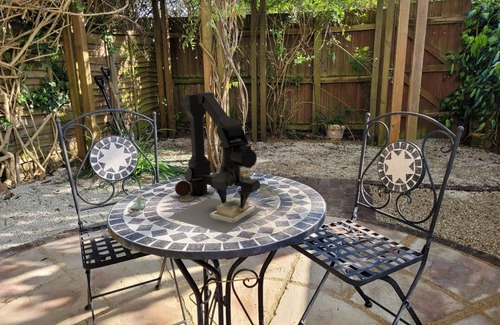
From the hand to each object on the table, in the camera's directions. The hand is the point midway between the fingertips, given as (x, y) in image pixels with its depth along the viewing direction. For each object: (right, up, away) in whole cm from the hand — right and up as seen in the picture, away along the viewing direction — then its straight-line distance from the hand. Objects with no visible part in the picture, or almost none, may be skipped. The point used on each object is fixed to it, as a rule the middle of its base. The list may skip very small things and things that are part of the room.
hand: (233, 206), depth 116 cm
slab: (0, -2, +1) cm, 2 cm away
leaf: (+13, +1, +18) cm, 22 cm away
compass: (-18, 0, +16) cm, 24 cm away
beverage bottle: (+2, +6, +36) cm, 37 cm away
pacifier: (-35, -2, +7) cm, 36 cm away
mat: (-6, -3, +1) cm, 7 cm away
